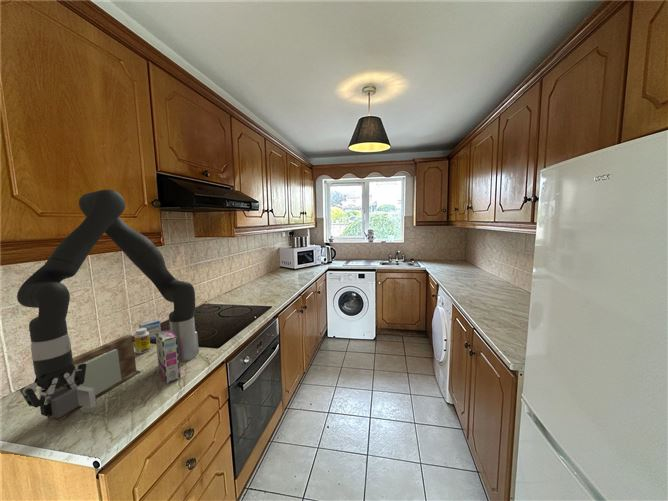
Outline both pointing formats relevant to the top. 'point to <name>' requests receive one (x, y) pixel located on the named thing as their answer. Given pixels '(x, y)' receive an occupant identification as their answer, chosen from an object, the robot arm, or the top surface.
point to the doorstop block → (63, 401)
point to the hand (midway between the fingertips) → (60, 408)
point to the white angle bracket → (98, 377)
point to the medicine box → (151, 328)
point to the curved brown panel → (125, 363)
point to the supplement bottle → (142, 340)
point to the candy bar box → (167, 355)
